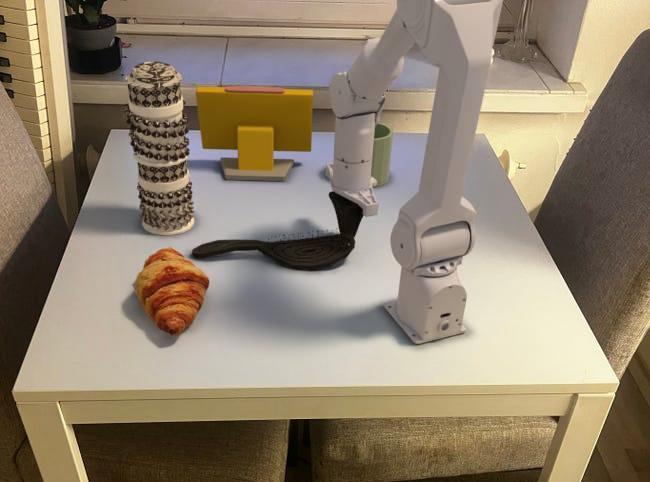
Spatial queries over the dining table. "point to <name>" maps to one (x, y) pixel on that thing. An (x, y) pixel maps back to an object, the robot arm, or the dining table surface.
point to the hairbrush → (288, 250)
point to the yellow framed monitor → (255, 128)
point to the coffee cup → (381, 153)
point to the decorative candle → (160, 147)
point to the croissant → (171, 290)
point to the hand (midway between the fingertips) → (347, 236)
